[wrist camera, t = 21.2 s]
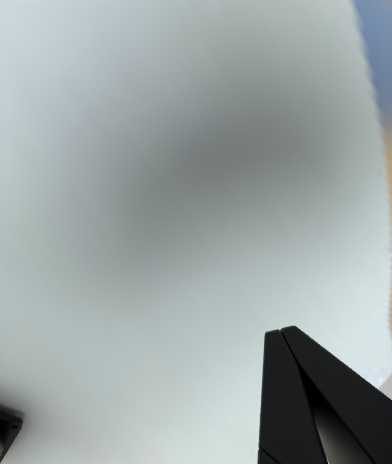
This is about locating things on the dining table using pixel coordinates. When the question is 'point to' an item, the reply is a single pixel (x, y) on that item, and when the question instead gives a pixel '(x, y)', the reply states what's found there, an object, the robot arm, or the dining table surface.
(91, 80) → the dining table surface
